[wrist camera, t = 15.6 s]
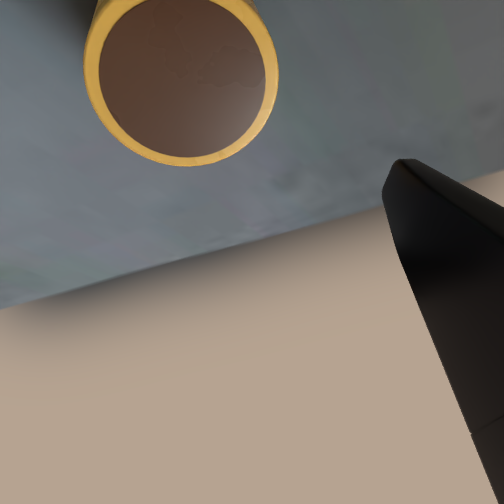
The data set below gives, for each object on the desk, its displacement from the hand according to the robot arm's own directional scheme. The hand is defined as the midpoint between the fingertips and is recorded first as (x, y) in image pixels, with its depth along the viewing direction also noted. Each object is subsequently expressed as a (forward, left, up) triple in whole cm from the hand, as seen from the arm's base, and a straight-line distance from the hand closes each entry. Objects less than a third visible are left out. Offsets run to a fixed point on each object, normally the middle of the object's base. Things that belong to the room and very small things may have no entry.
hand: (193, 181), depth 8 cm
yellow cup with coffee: (0, 0, -8) cm, 8 cm away
